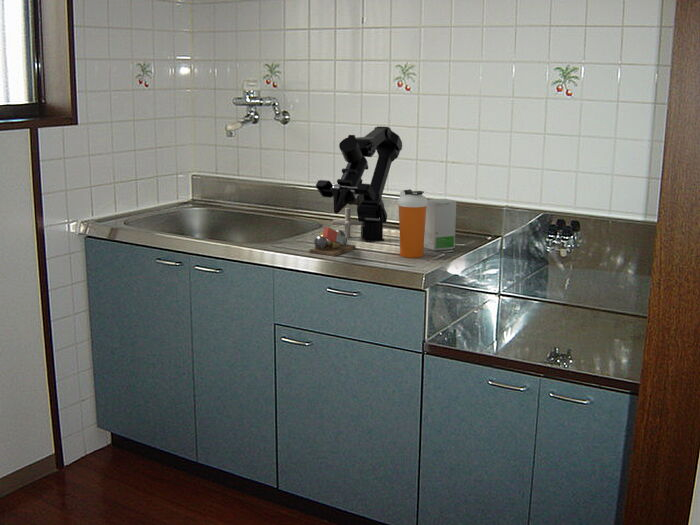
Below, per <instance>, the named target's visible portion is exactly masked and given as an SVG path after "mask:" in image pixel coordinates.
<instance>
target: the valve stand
mask: <svg viewBox="0 0 700 525" xmlns="http://www.w3.org/2000/svg"><path fill="white" fill-rule="evenodd" d="M335 231H336V232H338V234H340V235H342V236H344V237H345V231H343V230H341V229H338V230H335ZM322 235H323V231H321V232H319V233H318V236H316V237H315V239H314V241H313V243H314V248H310V249H309V250H308V252H310V253H309V254H313V253H316V255H322V256H330V257H335V256H336V257H337V256H339V255H341V254H344V253H347V252H350V251H353V250H355V249H356V245H354V244H346V245H341V244H339V243H337V242H334V241H330V240H328V239H326V238H324V237H322Z"/></svg>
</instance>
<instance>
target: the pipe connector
mask: <svg viewBox="0 0 700 525" xmlns="http://www.w3.org/2000/svg"><path fill="white" fill-rule="evenodd" d="M361 225H362V222H359V221H358V219H351V207H344V219H332V226H344V234H345V237H346V238H347V239H349V238H351V226H361Z"/></svg>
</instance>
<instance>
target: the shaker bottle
mask: <svg viewBox="0 0 700 525" xmlns="http://www.w3.org/2000/svg"><path fill="white" fill-rule="evenodd" d="M423 193H425V191H423V190H412V189H411V188H410V189H405V190H401V191H400V192H399V198H398V199H397V207H398V221H399V222H398V223H399V225H398V226H399V256H400V257H402V258H406V259H407V258H408V259H409V258H410V259H411V258H412V259H417V258H422V257H424V250H425V247H424V236H425V222H426V208H427V197H426V196H424V195H423Z"/></svg>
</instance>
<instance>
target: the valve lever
mask: <svg viewBox="0 0 700 525" xmlns="http://www.w3.org/2000/svg"><path fill="white" fill-rule="evenodd" d="M336 231H337V230H334V229H332V228H330V227H327V226H326V227H323V231H322V232H323V235H322V237H324V238H326V239H328V240H330V241H334V242H337V243H339V244H341V245H346V244H347V243H348V238H346V237H344V236H342V235H340V234H338V232H336ZM347 245H348V244H347Z"/></svg>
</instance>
